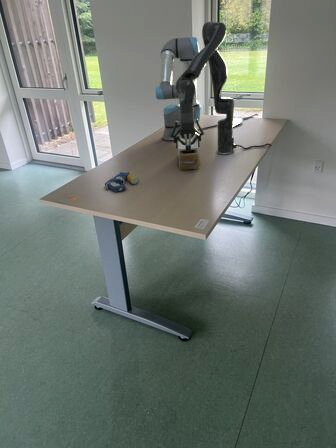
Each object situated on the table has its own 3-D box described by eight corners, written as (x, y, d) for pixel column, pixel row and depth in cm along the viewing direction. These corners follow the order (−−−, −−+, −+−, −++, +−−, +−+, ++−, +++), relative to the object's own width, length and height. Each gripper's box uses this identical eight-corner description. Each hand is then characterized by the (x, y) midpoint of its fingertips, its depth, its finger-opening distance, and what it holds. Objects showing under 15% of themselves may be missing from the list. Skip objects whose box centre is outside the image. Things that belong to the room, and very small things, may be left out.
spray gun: (144, 178, 188) (122, 175, 194) (143, 171, 185) (120, 168, 192) (124, 194, 172) (101, 191, 179) (123, 187, 170) (99, 184, 176)
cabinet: (198, 165, 198) (198, 147, 192) (179, 166, 199) (178, 149, 193) (197, 154, 214) (196, 137, 208) (179, 156, 215) (178, 139, 209)
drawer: (198, 172, 187) (198, 157, 182) (180, 173, 188) (179, 158, 183) (196, 158, 206) (196, 143, 202) (180, 159, 207) (179, 145, 202)
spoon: (235, 135, 247) (235, 132, 245) (221, 135, 250) (220, 132, 249) (243, 119, 273) (243, 117, 272) (230, 119, 276) (230, 117, 275)
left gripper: (164, 115, 193) (167, 150, 204) (207, 111, 192) (208, 147, 203) (165, 112, 200) (168, 146, 211) (207, 108, 198) (207, 143, 209)
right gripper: (174, 122, 172) (176, 155, 181) (199, 121, 171) (200, 153, 180) (174, 119, 178) (176, 150, 187) (199, 117, 178) (200, 148, 187)
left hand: (187, 147), depth 207 cm, fingers open, 13 cm apart
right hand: (188, 151), depth 184 cm, fingers closed
